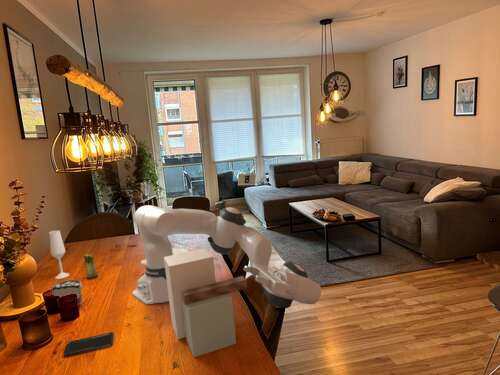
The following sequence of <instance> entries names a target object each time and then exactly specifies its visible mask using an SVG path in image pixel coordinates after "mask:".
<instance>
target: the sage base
mask: <svg viewBox="0 0 500 375" xmlns="http://www.w3.org/2000/svg"><path fill="white" fill-rule="evenodd" d="M181 298H182V296H181ZM182 306H183V315H184V323H185V332H186V337H185V339H186V342H187V345H188V347H189V350H190V352H191V354H192V356H193V358H197V357H199V356H202V355H205V354H208V353H212V352H215V351H218V350H221V349H224V348H227V347H231V346H233V345H237V337H236V336H237V335H236V326H235V317H234V316H235V314H234V313H235V312H234V305H233V297H232V295H230V293H228V294H224V295H220V296H217V297H213V298H209V299H205V300H202V301H198V302H194V303H191V304H187V305H185V304H184V302H183V301H182Z"/></svg>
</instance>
